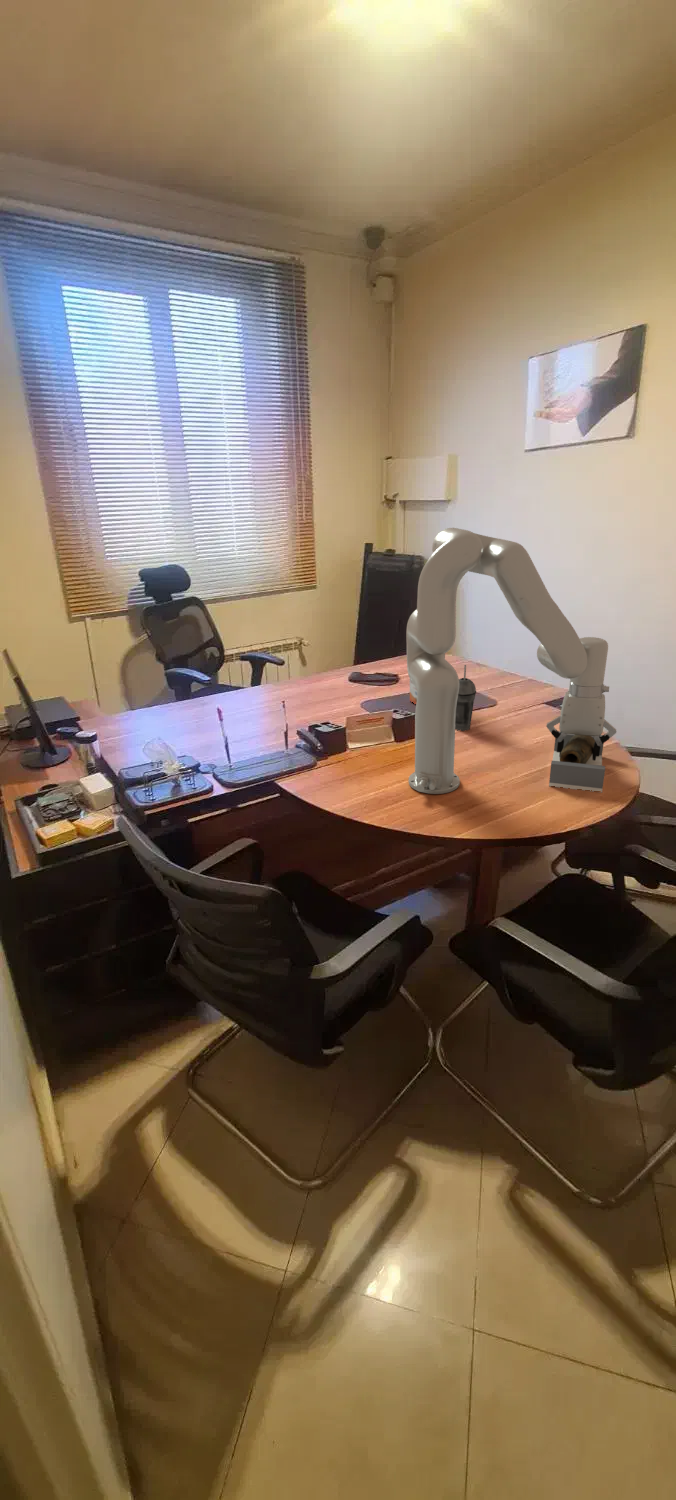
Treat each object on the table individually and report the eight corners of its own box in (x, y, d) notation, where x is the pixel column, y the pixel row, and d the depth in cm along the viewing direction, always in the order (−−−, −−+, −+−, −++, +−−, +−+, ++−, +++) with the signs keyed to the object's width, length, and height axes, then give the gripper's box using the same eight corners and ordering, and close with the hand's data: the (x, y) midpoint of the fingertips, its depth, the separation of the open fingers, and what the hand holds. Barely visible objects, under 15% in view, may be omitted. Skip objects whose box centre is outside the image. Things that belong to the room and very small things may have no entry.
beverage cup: (473, 723, 193) (476, 660, 185) (475, 732, 186) (479, 667, 178) (449, 723, 193) (451, 660, 185) (451, 732, 187) (453, 667, 179)
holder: (602, 792, 148) (605, 769, 146) (548, 786, 152) (551, 763, 150) (601, 756, 167) (604, 735, 165) (554, 751, 171) (556, 730, 169)
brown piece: (587, 776, 152) (590, 751, 149) (557, 771, 155) (559, 746, 152) (595, 753, 164) (598, 729, 161) (567, 749, 167) (570, 726, 164)
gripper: (624, 687, 151) (614, 754, 158) (548, 682, 157) (542, 747, 164) (625, 697, 145) (614, 766, 152) (546, 691, 151) (540, 758, 158)
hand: (577, 756), depth 158 cm, fingers closed on brown piece, 7 cm apart
